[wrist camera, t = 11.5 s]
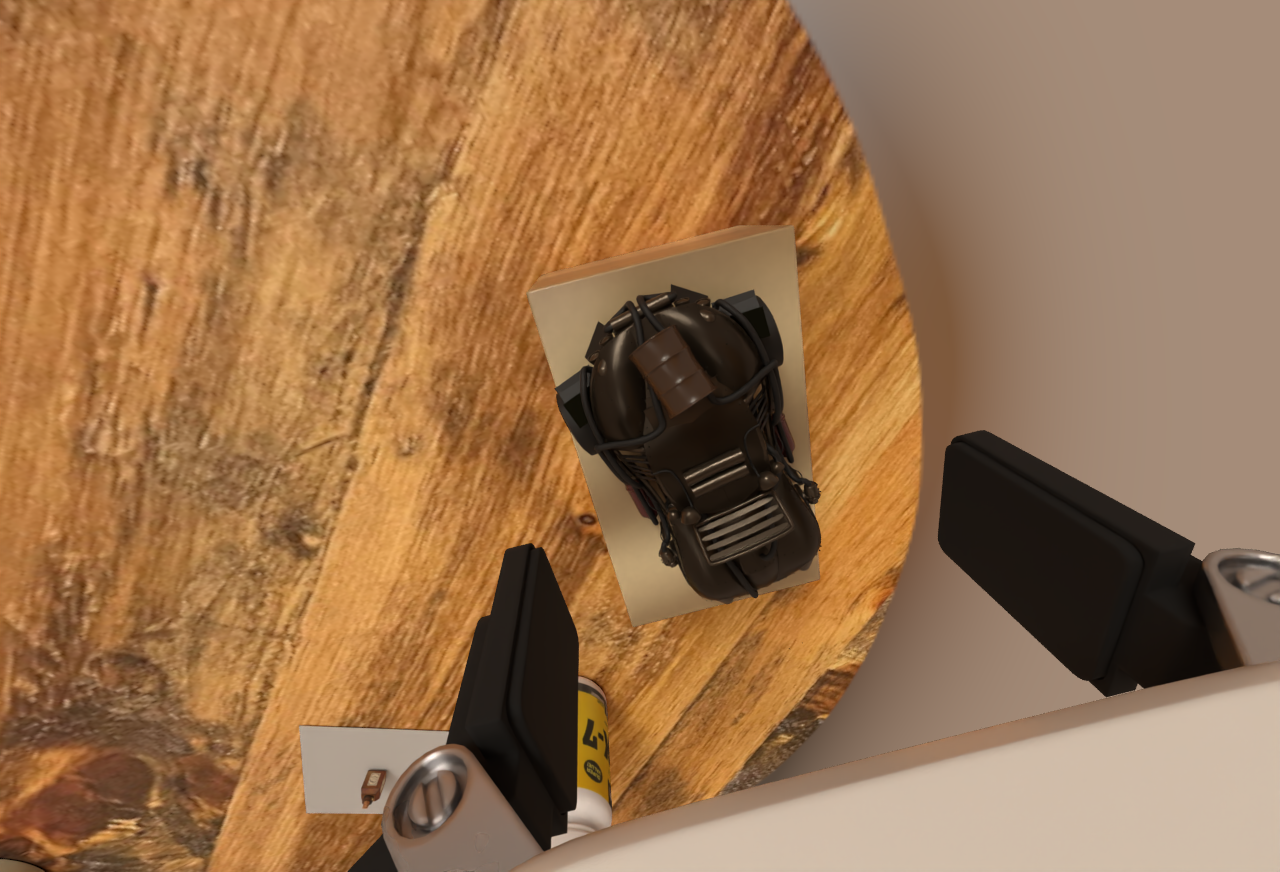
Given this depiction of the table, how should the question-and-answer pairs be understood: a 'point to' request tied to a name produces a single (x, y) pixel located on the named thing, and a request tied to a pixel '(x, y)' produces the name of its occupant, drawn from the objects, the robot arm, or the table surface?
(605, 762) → the supplement bottle
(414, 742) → the gray square plate
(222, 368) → the table surface
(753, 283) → the birch block
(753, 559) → the toy car
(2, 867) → the mug
